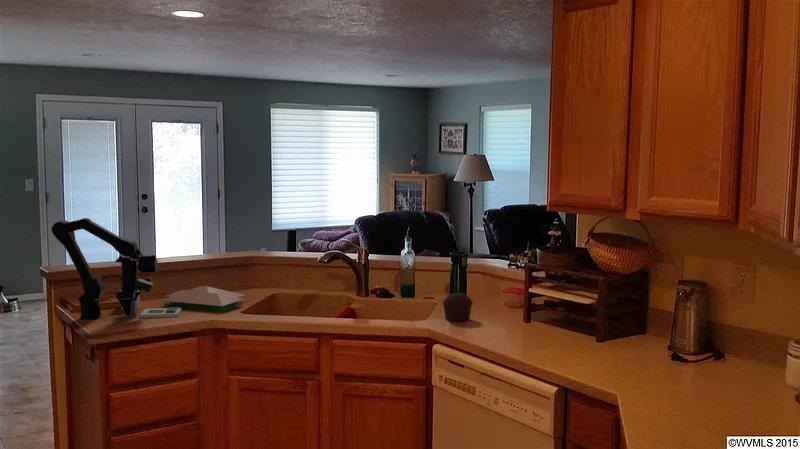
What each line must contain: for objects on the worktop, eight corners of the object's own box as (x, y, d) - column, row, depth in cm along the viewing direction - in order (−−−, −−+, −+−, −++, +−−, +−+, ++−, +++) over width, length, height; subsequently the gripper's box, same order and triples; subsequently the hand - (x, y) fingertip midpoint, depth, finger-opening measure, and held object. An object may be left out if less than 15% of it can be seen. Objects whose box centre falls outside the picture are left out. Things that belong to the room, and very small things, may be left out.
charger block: (124, 317, 281) (123, 302, 280) (126, 315, 285) (126, 300, 284) (135, 317, 282) (134, 302, 281) (137, 315, 285) (136, 300, 285)
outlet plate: (139, 317, 280) (139, 312, 280) (145, 311, 291) (145, 306, 291) (177, 316, 282) (177, 311, 282) (181, 310, 293) (181, 305, 293)
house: (191, 297, 323) (190, 279, 322) (254, 303, 311) (254, 284, 310) (155, 307, 302) (155, 288, 301) (222, 314, 289) (221, 293, 289)
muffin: (458, 324, 271) (459, 297, 270) (436, 319, 278) (436, 293, 277) (478, 319, 279) (478, 293, 278) (456, 314, 287) (456, 289, 286)
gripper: (146, 276, 274) (147, 317, 275) (155, 269, 292) (156, 307, 293) (115, 277, 272) (116, 318, 273) (126, 269, 290) (127, 308, 292)
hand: (130, 312), depth 283 cm, fingers open, 8 cm apart
